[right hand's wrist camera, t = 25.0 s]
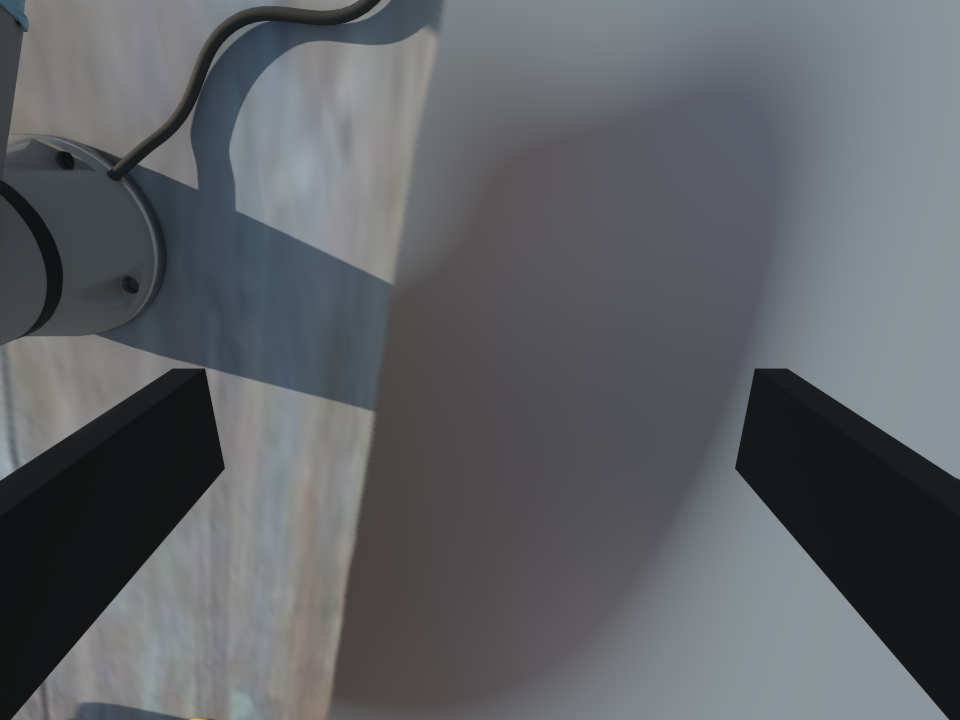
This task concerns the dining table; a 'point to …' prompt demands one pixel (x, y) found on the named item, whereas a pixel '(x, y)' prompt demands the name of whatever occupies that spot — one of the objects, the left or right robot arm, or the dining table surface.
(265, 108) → the dining table surface
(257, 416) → the dining table surface
